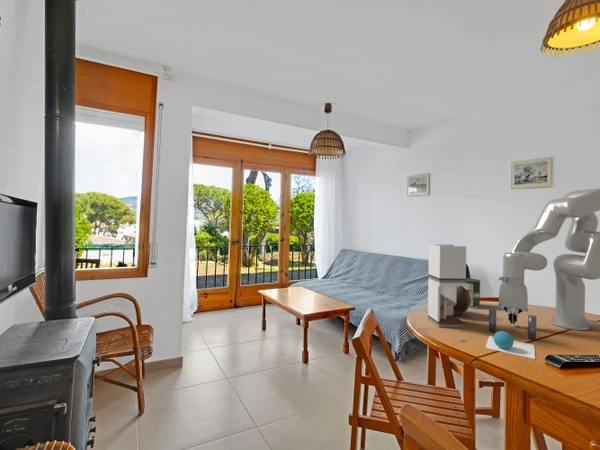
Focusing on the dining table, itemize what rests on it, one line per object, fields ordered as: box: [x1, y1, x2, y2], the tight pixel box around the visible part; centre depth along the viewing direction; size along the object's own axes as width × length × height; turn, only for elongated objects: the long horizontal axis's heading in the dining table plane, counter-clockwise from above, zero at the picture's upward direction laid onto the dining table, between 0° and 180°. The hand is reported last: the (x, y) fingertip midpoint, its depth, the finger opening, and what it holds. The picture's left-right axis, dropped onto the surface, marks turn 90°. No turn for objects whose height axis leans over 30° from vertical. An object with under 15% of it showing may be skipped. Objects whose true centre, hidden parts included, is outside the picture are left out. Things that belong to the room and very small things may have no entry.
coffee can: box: [462, 277, 481, 309], centre depth 161 cm, size 10×10×14 cm
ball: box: [493, 330, 515, 349], centre depth 106 cm, size 6×6×6 cm
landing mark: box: [485, 335, 536, 360], centre depth 108 cm, size 14×14×1 cm
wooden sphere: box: [453, 286, 471, 316], centre depth 146 cm, size 15×15×15 cm
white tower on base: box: [427, 243, 467, 328], centre depth 132 cm, size 11×11×35 cm
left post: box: [488, 308, 497, 333], centre depth 123 cm, size 2×2×9 cm
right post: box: [527, 314, 538, 341], centre depth 115 cm, size 2×2×9 cm
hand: (512, 322), depth 129 cm, fingers closed
